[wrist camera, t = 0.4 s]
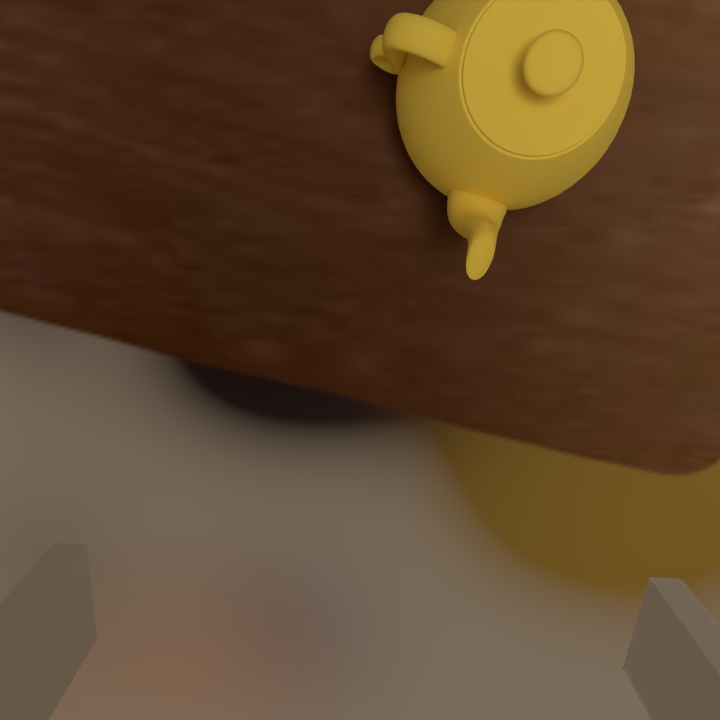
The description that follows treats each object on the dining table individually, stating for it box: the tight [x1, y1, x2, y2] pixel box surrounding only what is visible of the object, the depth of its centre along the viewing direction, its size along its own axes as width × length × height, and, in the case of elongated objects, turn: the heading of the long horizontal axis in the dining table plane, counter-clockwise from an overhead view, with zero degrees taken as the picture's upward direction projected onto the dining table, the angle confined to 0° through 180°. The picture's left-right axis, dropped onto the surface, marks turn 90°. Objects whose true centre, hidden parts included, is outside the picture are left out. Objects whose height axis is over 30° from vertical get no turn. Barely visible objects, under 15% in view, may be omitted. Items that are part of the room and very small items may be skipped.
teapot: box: [370, 0, 635, 280], centre depth 28 cm, size 20×15×12 cm
